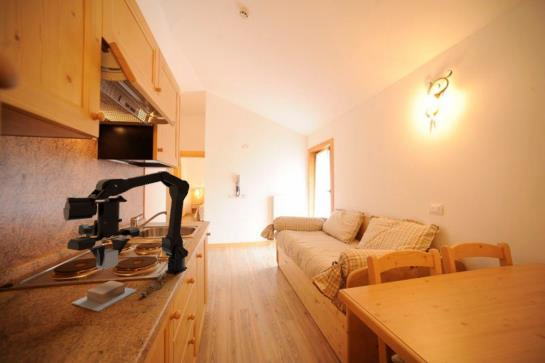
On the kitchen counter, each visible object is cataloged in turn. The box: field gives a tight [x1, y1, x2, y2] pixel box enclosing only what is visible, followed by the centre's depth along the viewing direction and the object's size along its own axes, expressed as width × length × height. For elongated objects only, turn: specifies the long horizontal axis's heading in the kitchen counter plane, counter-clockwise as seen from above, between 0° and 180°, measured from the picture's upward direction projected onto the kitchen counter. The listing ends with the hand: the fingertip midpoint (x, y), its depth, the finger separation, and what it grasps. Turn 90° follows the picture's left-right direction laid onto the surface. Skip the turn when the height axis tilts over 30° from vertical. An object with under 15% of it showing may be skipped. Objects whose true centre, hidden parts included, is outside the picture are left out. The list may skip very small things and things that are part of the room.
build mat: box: [71, 286, 138, 313], centre depth 66 cm, size 12×12×1 cm
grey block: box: [96, 248, 119, 270], centre depth 66 cm, size 4×4×5 cm
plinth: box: [86, 280, 126, 304], centre depth 66 cm, size 7×7×3 cm
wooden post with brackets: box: [140, 274, 164, 298], centre depth 71 cm, size 2×8×4 cm, turn 162°
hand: (107, 263), depth 66 cm, fingers closed on grey block, 4 cm apart
